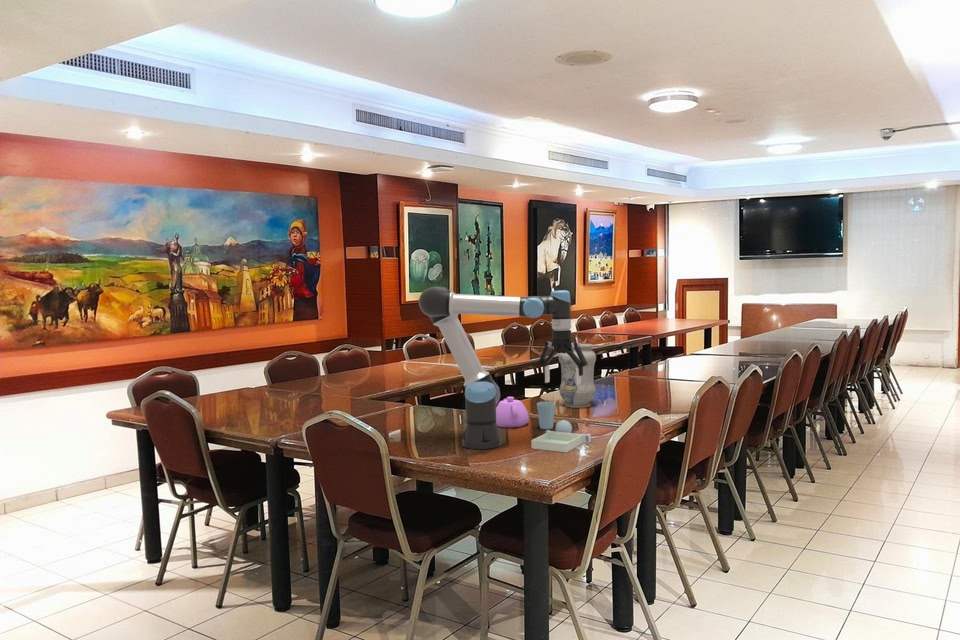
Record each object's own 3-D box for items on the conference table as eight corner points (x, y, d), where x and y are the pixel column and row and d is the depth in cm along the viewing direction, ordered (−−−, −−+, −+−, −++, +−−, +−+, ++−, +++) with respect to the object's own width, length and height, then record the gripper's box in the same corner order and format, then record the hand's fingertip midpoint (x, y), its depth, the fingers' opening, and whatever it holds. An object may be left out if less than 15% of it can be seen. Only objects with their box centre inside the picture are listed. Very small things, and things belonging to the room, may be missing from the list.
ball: (552, 437, 273) (552, 421, 273) (559, 433, 279) (559, 418, 278) (568, 439, 270) (567, 422, 269) (574, 435, 275) (574, 419, 275)
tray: (531, 448, 257) (531, 440, 257) (548, 440, 269) (547, 432, 269) (566, 452, 249) (566, 444, 249) (582, 443, 262) (581, 435, 261)
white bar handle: (545, 438, 271) (545, 431, 271) (548, 437, 273) (547, 429, 273) (588, 443, 262) (588, 435, 262) (590, 441, 264) (590, 434, 264)
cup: (553, 425, 294) (553, 401, 294) (557, 429, 287) (556, 404, 286) (536, 426, 294) (535, 402, 293) (539, 430, 286) (538, 405, 285)
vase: (577, 400, 349) (575, 341, 347) (604, 405, 335) (603, 343, 333) (552, 405, 338) (550, 344, 336) (579, 410, 324) (578, 347, 322)
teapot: (534, 428, 290) (534, 400, 289) (498, 431, 287) (497, 402, 286) (522, 418, 311) (521, 391, 310) (488, 420, 309) (487, 393, 308)
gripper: (528, 330, 275) (530, 382, 276) (587, 330, 262) (588, 386, 263) (537, 328, 281) (538, 380, 282) (595, 329, 268) (596, 383, 269)
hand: (563, 383), depth 273 cm, fingers open, 13 cm apart
